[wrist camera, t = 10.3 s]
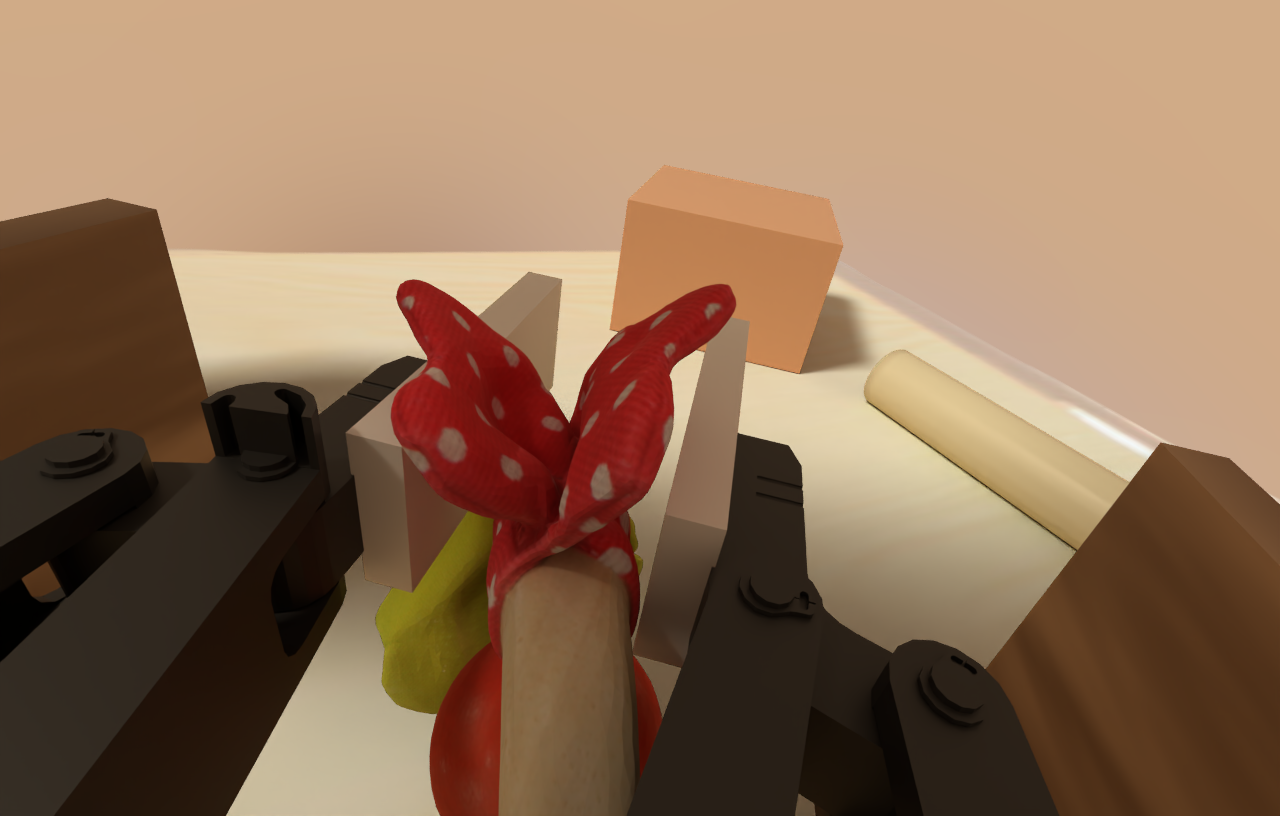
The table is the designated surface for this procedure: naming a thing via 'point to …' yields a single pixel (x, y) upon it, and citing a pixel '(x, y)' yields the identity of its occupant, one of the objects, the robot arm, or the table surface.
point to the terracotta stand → (730, 257)
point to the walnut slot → (1025, 668)
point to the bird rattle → (533, 560)
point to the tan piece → (996, 446)
